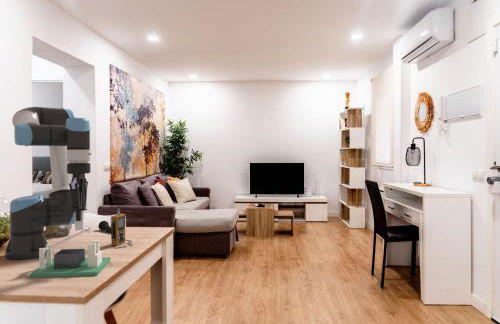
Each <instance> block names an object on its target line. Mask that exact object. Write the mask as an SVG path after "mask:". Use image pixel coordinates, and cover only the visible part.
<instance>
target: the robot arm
mask: <svg viewBox="0 0 500 324" xmlns="http://www.w3.org/2000/svg"><path fill="white" fill-rule="evenodd" d="M11 120H12V121H11V122H12V126H13V127H14V130H13V131H14V133H13V134H14V143H15V144H16V146H24V147H31V146H32V147H42V146H43V147H47V146H48V147H49V159H50V160H49V161H50V175H51V189H52V190H51V191H50V192H49V193H48V197H45V195H44V194H32V195H31V194H30V195H25V196H20V197H17V198H14V199H12V200H11V201H10V203H9V238H8V241H7V245H6V247H5V250H4V259H7V260H12V261H13V260H17V261H18V260H28V259H35V258H39V249H40V248H45V247H46V245H47V244H49V243H48V241H47V239H46V237H45V235H44V231H45V228H46V227H47V226H58V225H70V224H72V225H74V231H83V230H85V229H86V228H85V211H87V210H88V208H87V199H88V197H87V195H88V185H89V181H88V180H87V178H86V174H90V173H91V172H92V171H91V163H90V162H91V156H92V154H93V153H92V152H91V127H90V126H91V125H90V120H89V119H88V118H86V117H76V115H75V113H74V110H72V109H69V108H63V107H60V108H56V107H43V106H42V107H41V106H30V107H25V108H22V109H20V110H18V111H17V112H15V113H14V114H13V116H12V119H11ZM45 256H46V252H45Z"/></svg>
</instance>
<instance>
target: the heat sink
mask: <svg viewBox="0 0 500 324" xmlns="http://www.w3.org/2000/svg"><path fill="white" fill-rule="evenodd" d="M85 258H86V248H66V249H65V248H61V249H60V250H59V251H57V252H56V253H54V254H53V259H54V266H53V269H69V268H79V267H80V266H81V265H82V264H83V263H84V262H85Z"/></svg>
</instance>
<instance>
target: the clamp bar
mask: <svg viewBox="0 0 500 324" xmlns="http://www.w3.org/2000/svg"><path fill="white" fill-rule="evenodd" d="M85 232H86V233H87V234H90V233H92V232H93V231H92V229H91V227H87V228H85V229H84V230H80V231H79V232H77V233H75V234H73V235H70V236H69V237H67V238H64V239H63V240H60V241H58V242H56V243H55V244H52V246H46V247H45V252H47V251H49V250H50V248H52V249H53V248H54V247H57V246H58V245H62V244H63V243H64V242H67V241H69V240H71V239H73V238H75V237H77V236H80V235H81V234H83V233H85Z"/></svg>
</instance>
